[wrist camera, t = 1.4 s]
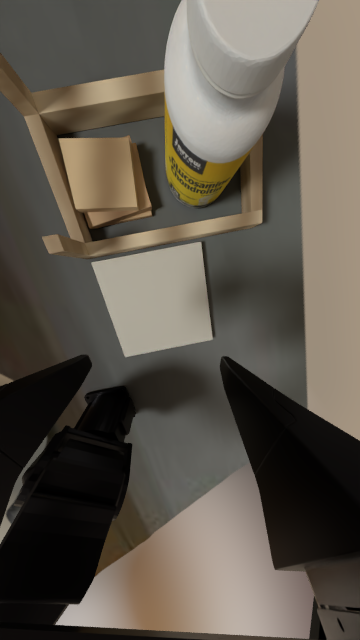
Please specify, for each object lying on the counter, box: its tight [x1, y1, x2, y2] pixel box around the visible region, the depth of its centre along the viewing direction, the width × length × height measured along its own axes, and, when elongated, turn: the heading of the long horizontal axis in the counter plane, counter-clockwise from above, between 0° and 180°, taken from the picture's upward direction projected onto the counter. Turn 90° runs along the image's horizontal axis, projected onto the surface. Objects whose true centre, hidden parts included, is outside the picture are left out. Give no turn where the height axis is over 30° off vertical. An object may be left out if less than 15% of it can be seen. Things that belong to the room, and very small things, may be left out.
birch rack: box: [0, 53, 263, 259], centre depth 13 cm, size 20×12×6 cm, turn 100°
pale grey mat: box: [92, 242, 213, 357], centre depth 19 cm, size 13×13×1 cm
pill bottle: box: [164, 0, 319, 208], centre depth 10 cm, size 6×6×12 cm
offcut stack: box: [59, 135, 152, 229], centre depth 15 cm, size 7×6×3 cm
